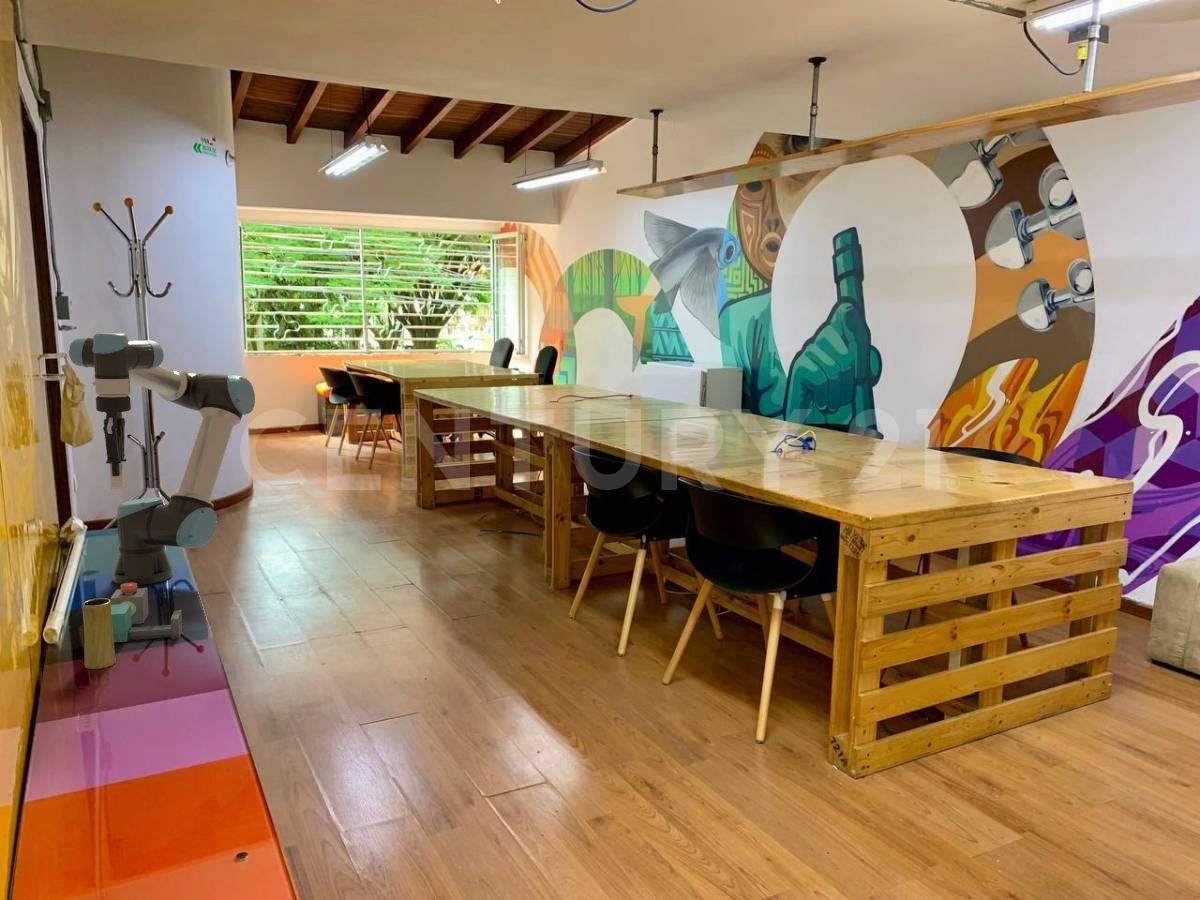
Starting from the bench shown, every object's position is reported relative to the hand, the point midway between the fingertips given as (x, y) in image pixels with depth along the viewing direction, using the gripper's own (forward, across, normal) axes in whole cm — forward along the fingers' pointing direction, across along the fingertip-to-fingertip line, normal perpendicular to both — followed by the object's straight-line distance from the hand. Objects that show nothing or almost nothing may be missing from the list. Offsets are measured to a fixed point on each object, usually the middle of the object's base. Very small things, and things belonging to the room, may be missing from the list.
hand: (117, 487), depth 215 cm
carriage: (+32, +21, +2) cm, 39 cm away
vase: (+33, +36, +2) cm, 49 cm away
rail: (+32, +21, +6) cm, 39 cm away
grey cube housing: (+32, +8, +3) cm, 34 cm away
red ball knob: (+28, +8, +3) cm, 30 cm away
